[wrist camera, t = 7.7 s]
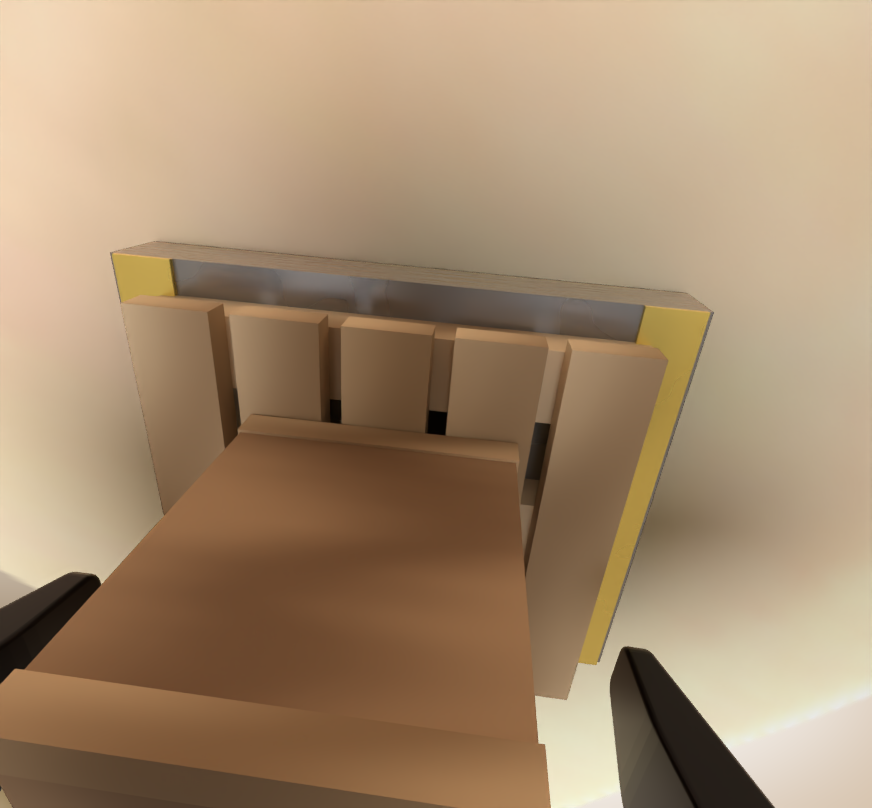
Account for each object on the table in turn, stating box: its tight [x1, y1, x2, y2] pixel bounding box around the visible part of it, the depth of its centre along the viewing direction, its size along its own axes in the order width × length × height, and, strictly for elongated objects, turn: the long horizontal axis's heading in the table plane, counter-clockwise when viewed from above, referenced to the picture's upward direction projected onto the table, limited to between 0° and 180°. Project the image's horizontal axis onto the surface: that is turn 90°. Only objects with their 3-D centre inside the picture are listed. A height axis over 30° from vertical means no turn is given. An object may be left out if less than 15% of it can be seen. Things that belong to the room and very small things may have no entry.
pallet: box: [120, 295, 668, 700], centre depth 11 cm, size 10×9×2 cm
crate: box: [0, 414, 551, 808], centre depth 8 cm, size 5×5×6 cm
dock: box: [110, 241, 714, 665], centre depth 13 cm, size 12×10×2 cm
